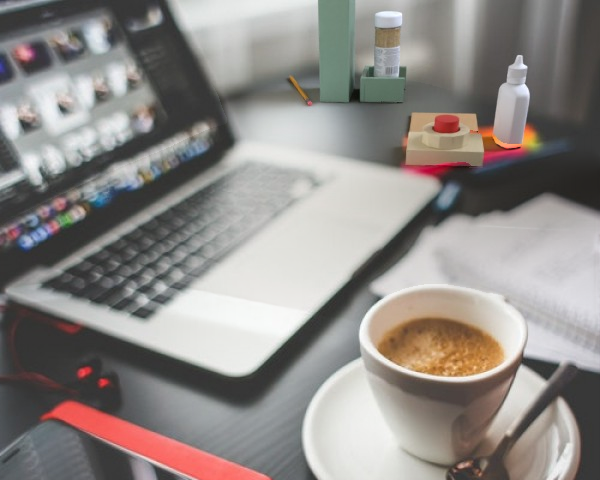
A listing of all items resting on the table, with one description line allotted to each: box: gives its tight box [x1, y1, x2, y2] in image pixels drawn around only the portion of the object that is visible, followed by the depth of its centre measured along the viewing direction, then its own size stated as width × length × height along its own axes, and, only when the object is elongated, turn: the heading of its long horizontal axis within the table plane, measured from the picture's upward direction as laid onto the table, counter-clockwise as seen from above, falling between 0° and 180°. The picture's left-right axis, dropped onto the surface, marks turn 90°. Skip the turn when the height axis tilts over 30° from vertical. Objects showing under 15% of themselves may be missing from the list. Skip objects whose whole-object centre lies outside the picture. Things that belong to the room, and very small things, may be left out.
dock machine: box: [317, 0, 408, 103], centre depth 106 cm, size 14×9×19 cm, turn 79°
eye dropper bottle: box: [492, 54, 531, 145], centre depth 86 cm, size 4×6×12 cm
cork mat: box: [409, 112, 479, 132], centre depth 96 cm, size 10×10×1 cm
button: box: [434, 115, 459, 133], centre depth 84 cm, size 3×3×2 cm
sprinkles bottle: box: [373, 10, 403, 77], centre depth 107 cm, size 5×5×14 cm
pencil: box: [289, 75, 313, 107], centre depth 115 cm, size 19×1×1 cm, turn 12°
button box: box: [405, 122, 485, 167], centre depth 85 cm, size 10×7×4 cm
